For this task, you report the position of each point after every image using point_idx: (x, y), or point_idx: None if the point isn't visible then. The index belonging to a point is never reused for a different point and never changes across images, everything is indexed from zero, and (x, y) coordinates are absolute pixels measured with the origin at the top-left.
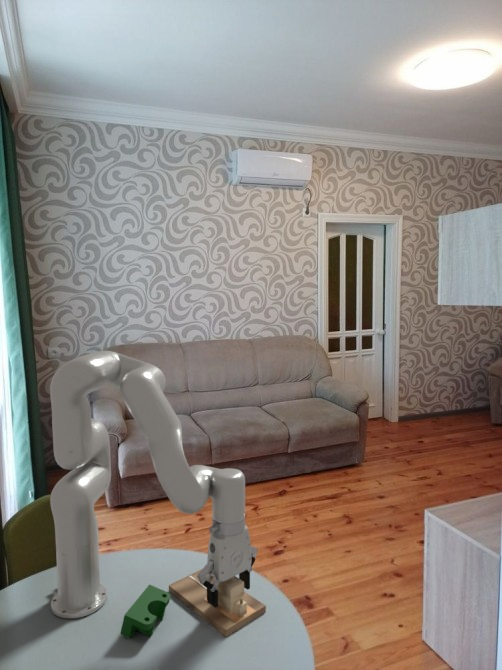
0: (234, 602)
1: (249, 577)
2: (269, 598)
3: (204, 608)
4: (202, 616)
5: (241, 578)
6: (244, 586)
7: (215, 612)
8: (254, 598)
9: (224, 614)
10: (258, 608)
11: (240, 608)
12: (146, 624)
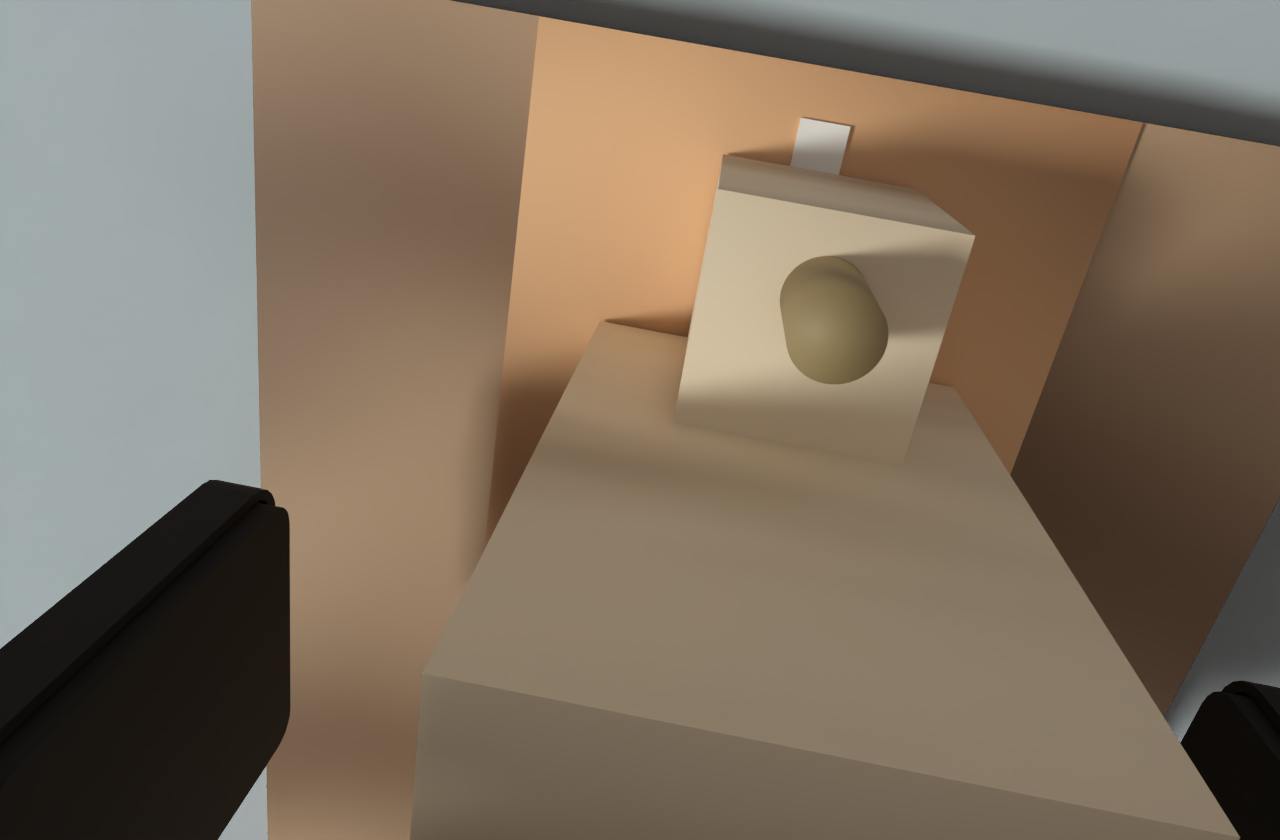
0: (903, 460)
1: (5, 668)
2: (10, 165)
3: None
4: None
5: (190, 805)
6: (273, 603)
7: None
8: (265, 312)
9: None
10: (433, 43)
11: (948, 223)
12: None
